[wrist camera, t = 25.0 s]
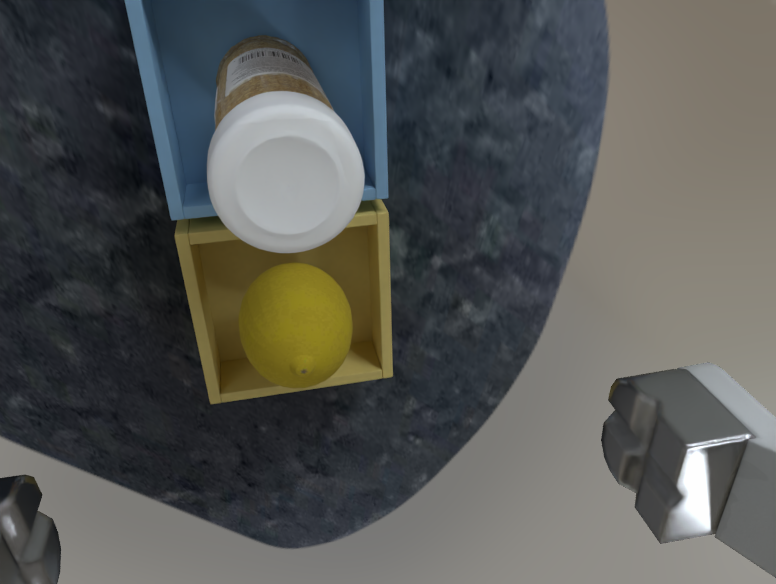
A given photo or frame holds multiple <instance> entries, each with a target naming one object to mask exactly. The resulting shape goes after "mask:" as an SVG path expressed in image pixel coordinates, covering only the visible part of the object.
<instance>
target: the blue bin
mask: <svg viewBox="0 0 776 584" xmlns="http://www.w3.org/2000/svg"><path fill="white" fill-rule="evenodd" d="M124 1H125V5H126V10H127V15H128V19H129V24H130V29H131V33H132V38H133V43H134V48H135V52H136V57H137V62H138V66H139V71H140V76H141V80H142V85H143V90H144V95H145V99H146V104H147V109H148V113H149V118H150V123H151V128H152V132H153V137H154V142H155V146H156V151H157V156H158V160H159V165H160V170H161V175H162V179H163V184H164V189H165V193H166V198H167V203H168V207H169V212H170V217H171V220H181V219H191V218H201V217H210V216H218V215H217V213H216V211H215V209H214V207H213V205H212V202H211V199H210V196H209V191H208V184H207V158H208V150H209V146H210V142H211V139H212V137H213V134H214V132H215V117H214V112H215V98H216V90H217V85H216V76H217V72H218V67H219V64H220V62H221V60H222V59H223V57H224V56H225V54H226V53H227V52H228V51H229V49H230V48H231V47H232V46H235V45H236V44H237V43H239V42H240V41H242V40H244V39H246V38H249V37H254V36H258V35H267V36H271V37H278V38H280V39H283V40H286V41H288V42H289V43H291V44H292V45H294V46H295V47H296V48H298V49H299V50H300V51H301V52H302V53H303V55H304V56H305V57H306V59H307V60H308V62H309V65H310V67H311V68H312V70H313V73H314V75H315V77H316V79H317V80H318V82H319V84H320V86H321V87H322V89H323V91H324V93H325V95H326V97H327V98H328V100H329V102H330V104H331V106H332V108H333V110H334V112H335V113H336V114H337V115H338V116H339V117H340V118H341V119H342V121H343V122H344V123H345V125H346V126H347V128H348V130H349V131H350V133H351V135H352V137H353V139H354V141H355V143H356V145H357V147H358V149H359V152H360V155H361V158H362V162H363V167H364V175H365V179H364V191H363V196H362V200H361V201H366V200H375V199H386V198H388V164H387V124H386V84H385V44H384V4H383V0H124Z"/></svg>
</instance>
